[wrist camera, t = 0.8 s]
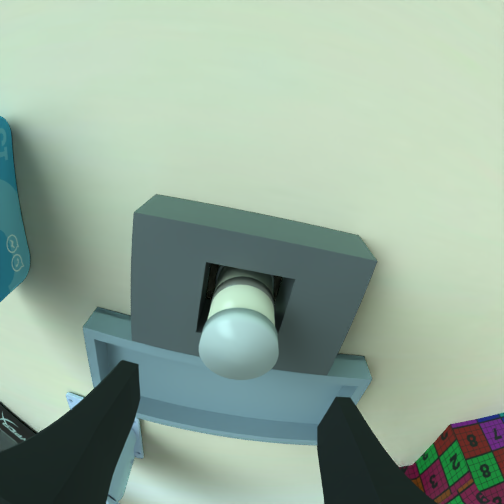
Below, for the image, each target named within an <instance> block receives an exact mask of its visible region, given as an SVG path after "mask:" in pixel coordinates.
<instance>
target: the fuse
mask: <svg viewBox="0 0 504 504" xmlns="http://www.w3.org/2000/svg"><path fill="white" fill-rule="evenodd" d="M273 289H274V275H270V274H265V273H260V272H255V271H249V270H244V269H239V268H234V267H229V266H224V265H220V266H219V269H218V272H217V276H216V287H215V291H214V294H213V298H212V302H211V306H210V312H209V316H208V320H207V322H206V323H205V325H204V327H203V331H202V335H201V339H200V343H199V355H200V358H201V360H202V361H203V363H204V364H205V365H206V367H207V368H209V369H210V370H211V371H212V372H214V373H216V374H217V375H220V376H222V377H225V378H228V379H234V380H248V379H253V378H257V377H260V376H262V375H264V374H265V373H267V372H268V371H270V370H271V369H272V368H273V367H274V365H275V364H276V362H277V359H278V355H279V349H278V334H277V330H276V328H275V317H274V312H275V310H274V298H273Z"/></svg>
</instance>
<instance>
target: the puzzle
mask: <svg viewBox="0 0 504 504" xmlns="http://www.w3.org/2000/svg"><path fill="white" fill-rule="evenodd" d="M399 468H400V469H401V470H402V471H403V473H404V474H405V475H406V476H407V477H408V478H409V479H410V480H411V481H412V482H413V483H414V484H415V485H416V486H417V487H418V488H419V489H421V490H422V491H423V492H424V493H425V494H426V495H427V496H429V497H430V498H431V499H432V500H434V501H435V502H436V503H438V504H504V413H500V414H497V415H493V416H488V417H484V418H480V419H475V420H470V421H465V422H460V423H455V424H450V425H449V426H448V427H447V428H446V430H445V431H444V432H443V433H442V434H441V435H440V436H439V438H438V439H437V440H436V441H435V442H434V443H433V444H432V445H431V446H430V447H429V449H428V450H427V451H426V452H425V453H424V454H423V455H422V456H421V457H420V458H419V459H418V460H417V461H416V462H415V463H414V464H413V465H410V466H404V467H399Z"/></svg>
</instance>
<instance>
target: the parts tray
mask: <svg viewBox="0 0 504 504" xmlns="http://www.w3.org/2000/svg"><path fill="white" fill-rule="evenodd" d="M83 331H84V338H85V344H86V350H87V356H88V361H89V367H90V372H91V377H92V382H93V386H94V388H95V387H96V386H97V385H98V384H99V383H100V382H101V381H102V380H103V379H104V378H105V377H106V376H107V375H108V374H109V373H110V372H111V371H112V370H113V368H114V367H115V366H116V365H117V364H118V363H119V362H120V361H121V360H125V361H129V362H133V363H136V364H139V383H140V398H141V399H140V402H139V406H138V410H137V413H136V418H140V419H143V420H147V421H151V422H155V423H159V424H163V425H167V426H172V427H176V428H181V429H185V430H190V431H195V432H200V433H206V434H212V435H217V436H224V437H230V438H237V439H245V440H253V441H262V442H272V443H283V444H298V445H317V426H318V425H319V423H320V422H321V420H322V418H323V417H324V415H325V414H326V412H327V410H328V409H329V407H330V405H331V404H332V402H333V400H334V399H335V397H350V398H351V399H352V401H353V402H354V404H355V405H356V404H357V403H358V401H359V400H360V398H361V396H362V395H363V393H364V392H365V390H366V389H367V387H368V385H369V384H370V382H371V381H372V377H371V374H370V372H369V369H368V366H367V363H366V360H365V357H364V356H357V355H347V354H337V356H336V358H335V360H334V363H333V365H332V367H331V369H330V371H329V373H328V375H327V376H325V375H316V374H306V373H298V372H290V371H282V370H275V369H271V370H270V371H268V372H267V373H265V374H264V375H262V376H260V377H257V378H253V379H248V380H234V379H228V378H225V377H222V376H220V375H217V374H216V373H214V372H212V371H211V370H210V369H209V368H207V367H206V365H205V364H204V363H203V361H202V360H201V358H200V357H199V356H194V355H190V354H185V353H180V352H176V351H171V350H167V349H163V348H159V347H154V346H150V345H146V344H142V343H138V342H135V341H132V337H131V316H130V315H126V314H122V313H118V312H114V311H111V310H107V309H103V308H100V307H97V308H96V310H95V311H94V312H93V314H92V315H91V316H90V318H89V319H88V321H87V322H86V323H85V325H84V326H83Z"/></svg>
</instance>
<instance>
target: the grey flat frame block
mask: <svg viewBox="0 0 504 504" xmlns="http://www.w3.org/2000/svg"><path fill="white" fill-rule="evenodd" d="M211 263H214V264H219V265H224V266H229V267H234V268H239V269H244V270H249V271H255V272H260V273H265V274H270V275H276V276H281V277H282V280H281V284H280V287H279V291H278V294H277V298H276V301H275V305H274V310H275V312H274V317H275V328H276V330H277V334H278V349H279V355H278V359H277V362H276V364H275V365H274V367H273V368H272V369H275V370H282V371H290V372H298V373H306V374H316V375H325V376H327V375H328V373H329V371H330V369H331V367H332V365H333V363H334V360H335V358H336V356H337V354H338V352H339V350H340V348H341V346H342V344H343V342H344V339H345V337H346V335H347V333H348V331H349V329H350V326H351V324H352V322H353V320H354V317H355V315H356V313H357V310H358V308H359V306H360V303H361V301H362V299H363V296H364V294H365V291H366V289H367V286H368V284H369V281H370V279H371V276H372V274H373V271H374V269H375V266H376V263H377V260H376V258H375V257H374V256H373V254H372V253H371V252H370V250H369V249H368V247H367V246H366V245H365V243H364V242H363V241H362V239H361V238H360V237H359V235H355V234H350V233H346V232H342V231H337V230H333V229H328V228H324V227H320V226H315V225H310V224H306V223H301V222H297V221H292V220H287V219H283V218H278V217H273V216H268V215H263V214H258V213H254V212H249V211H244V210H239V209H233V208H228V207H223V206H218V205H213V204H207V203H202V202H197V201H191V200H186V199H180V198H175V197H169V196H163V195H158V194H156V195H155V196H153V197H152V198H151V199H150V200H148V201H147V202H146V203H145V204H143V205H142V206H141V207H140V208H139V209H137V210H136V211H135V212H134V218H133V234H132V257H131V337H132V341H135V342H138V343H142V344H146V345H150V346H154V347H159V348H163V349H167V350H171V351H176V352H180V353H185V354H190V355H194V356H199V357H200V355H199V343H200V339H201V335H202V331H203V327H204V325H205V323H206V322H207V320H208V316H209V312H210V306H211V302H212V300H210V299H205V298H206V291H207V285H208V278H209V272H210V266H211Z"/></svg>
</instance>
